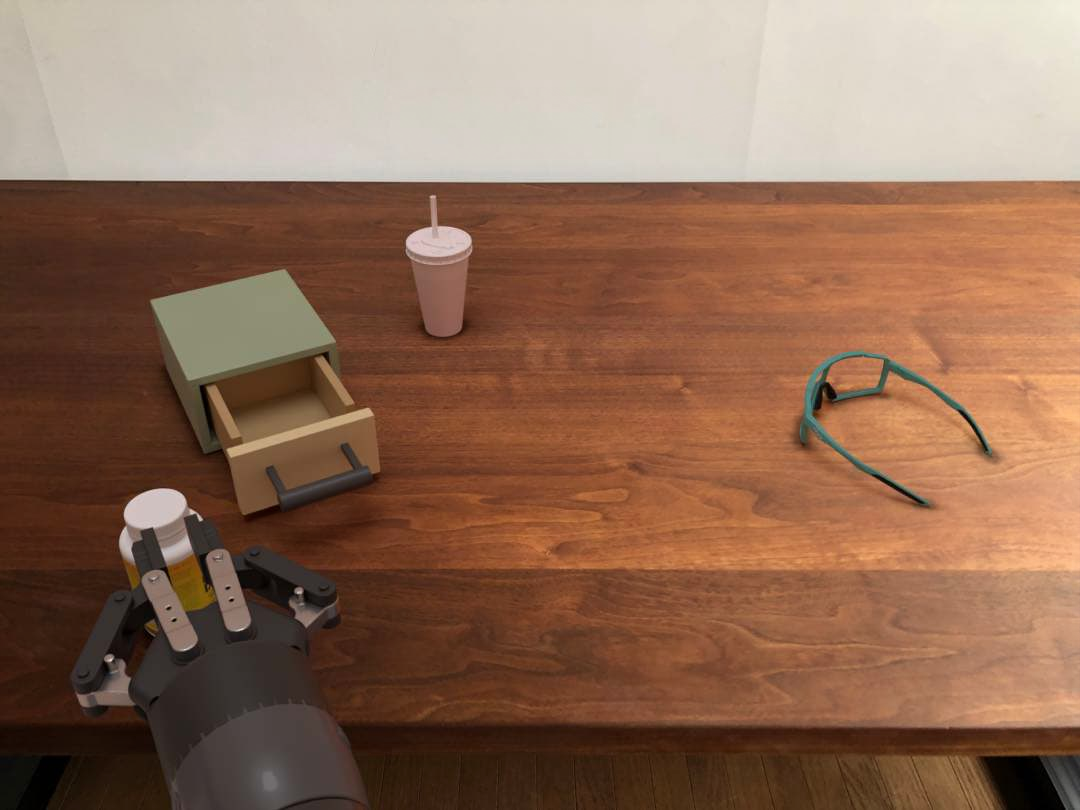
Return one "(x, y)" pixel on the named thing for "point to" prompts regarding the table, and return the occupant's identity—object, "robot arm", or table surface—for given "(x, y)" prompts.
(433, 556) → the table surface
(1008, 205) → the table surface
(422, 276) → the smoothie
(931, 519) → the table surface
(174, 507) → the supplement bottle
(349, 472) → the drawer
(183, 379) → the cabinet
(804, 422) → the sunglasses
